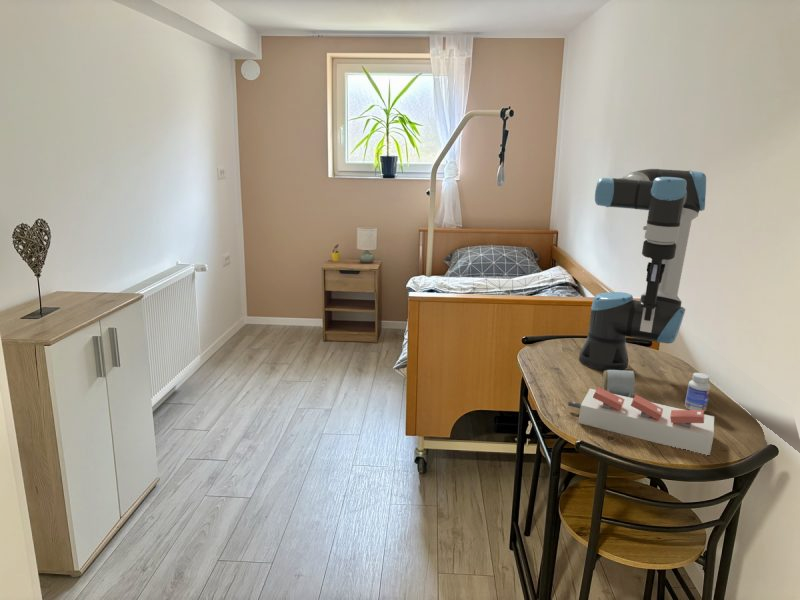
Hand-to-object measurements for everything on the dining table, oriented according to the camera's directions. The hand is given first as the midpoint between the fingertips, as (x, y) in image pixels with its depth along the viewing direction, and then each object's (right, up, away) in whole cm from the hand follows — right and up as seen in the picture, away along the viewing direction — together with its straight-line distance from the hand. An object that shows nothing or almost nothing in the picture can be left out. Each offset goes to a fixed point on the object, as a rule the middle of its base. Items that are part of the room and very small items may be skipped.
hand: (645, 330), depth 152 cm
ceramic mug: (-2, -20, +14) cm, 24 cm away
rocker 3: (+5, -20, -12) cm, 24 cm away
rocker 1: (-11, -17, -4) cm, 21 cm away
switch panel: (-4, -24, -3) cm, 25 cm away
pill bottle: (+17, -22, +9) cm, 30 cm away
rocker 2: (-3, -18, -8) cm, 20 cm away
